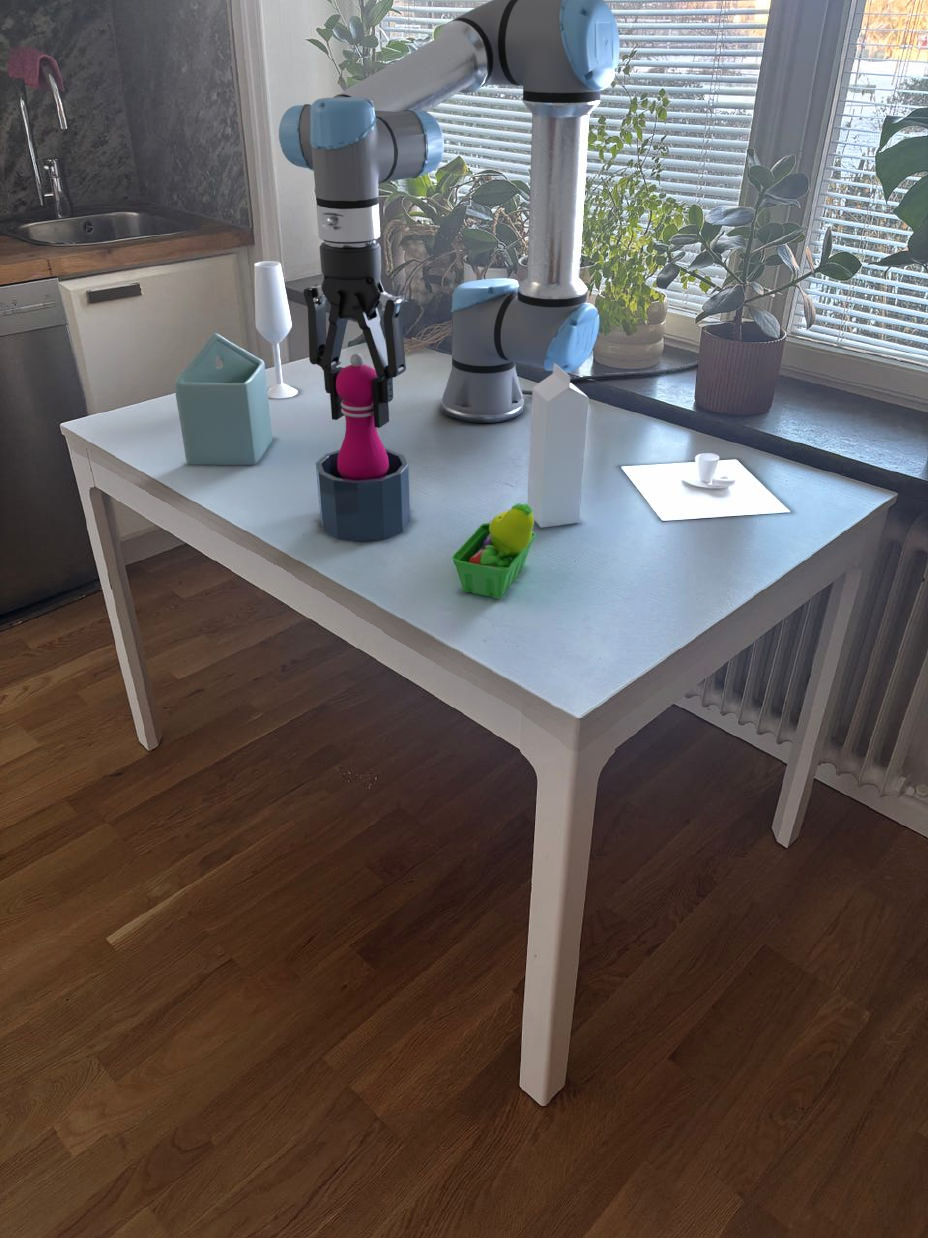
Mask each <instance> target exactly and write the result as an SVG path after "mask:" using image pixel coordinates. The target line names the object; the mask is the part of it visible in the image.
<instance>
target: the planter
mask: <svg viewBox="0 0 928 1238" xmlns="http://www.w3.org/2000/svg"><path fill="white" fill-rule="evenodd" d="M218 356H219V361H221V365H220V366H219V367H217V362H218ZM267 381H268V380H267V372H266V365H265V361H264V360H263V359H261V358H259V357H258V356H255V355H254V354H252V353H250V352H248V351H247V350H245V349H244V348H242V347H240V346H238V345H237V344H235V343H233V342H231V341H229V339H227V338H225V337H224V336H222V335H220V334H219V333H217V332H214V333H212V335H211V336H210V337H209V338H208V340H207V341H206V343H205V344H204V345H203V346H202V348H201V349H200V350H199V351H198V353H197V354H196V355H194V357H193V358H192V359H191V361H190V362H189V363H188V364H187V366H185V368H184V369H183V370H182V372H181V373H180V374H179V376H178V377H177V378H176V379H175V380H174V383H173V387H174V392H175V400H176V406H177V412H178V418H179V424H180V431H181V437H182V442H183V448H184V456H185V462H186V464H187V465H191V466H192V465H195V466H197V465H199V466H256V465H257V463H259V461H260V460H261V459H262V458H263V456H264V454H265V453H266V452H267V450H268V448H269V446H270V445H271V443H272V442H273V439H274V437H273V430H272V429H273V428H272V427H273V426H272V420H271V411H270V409H271V408H270V399H269V397H268V390H267V389H268V382H267Z"/></svg>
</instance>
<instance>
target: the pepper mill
mask: <svg viewBox="0 0 928 1238" xmlns="http://www.w3.org/2000/svg"><path fill="white" fill-rule="evenodd" d="M349 362H350V364H349V365H346V366H345V367H343V369H342V370H341V371H340V372H339V374H338V376H337V379H336V390H337V393H338V395H339V396H340V397H341V398H342V399H343V400H342V402H341V406H342V409H341V411H342V413H343V414H344V418H345V433H344V437H343V441H342V443H341V446H340V448H339V449H340V451H339V454H338V459H337V468H338V471H339V473H340V474H341V476H342V477H343V478H344V479H349V480H357V481H359V480H369V479H379V478H382V477H383V476H384V475H385V474H386V473H387V471H388V469H389V462H388V456H387V453H386V450H385V448H386V447H385V446H384V444H383V442H382V439H381V438H380V435H379V433H378V428H376V427H374V409H373V390H372V380H373V379H374V378H376V377H377V374H376V371H375V368H374V367H371V366H370V365H367V364H364V362H365V358H364V357H363V356H362V354H360V353H353V354H352V355H351V356H350V359H349Z"/></svg>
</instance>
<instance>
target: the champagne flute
mask: <svg viewBox="0 0 928 1238" xmlns="http://www.w3.org/2000/svg"><path fill="white" fill-rule="evenodd" d="M253 268H254V269H253V271H254V273H253V274H254V315H255V318H254V319H255V321H254V323H255V325H254V326H255V328H256V331H257V332H258V333H259V334H260V336H262V338H264V339H265V340H266V341H268V342H269V343H271V344H272V352H273V362H274V370H275V372H274V373H275V382H276V383H275V384H273V385H272V386H270V387H269V388H267V390H268V399H269V398H270V399H289V398H292V397H294V396H296V395H297V394H298V393H299V390H297V389H296V388H294V387H292V386H290V385H288V384H286V383H284V382H283V371H282V362H281V352H280V343H281V342H283V340H285V338H286V337H287V336H288V335H289V333H290V332H291V329H292V326H293V323H292V317H291V312H290V307H289V306H290V305H289V302H288V301H289V300H288V295H287V290H286V285H285V280H284V279H285V278H284V274H283V269H282V264H281V262H279V261H276V260H275V261H273V260H268V261H267V260H265V261H259V262H255V263H254V265H253Z"/></svg>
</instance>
